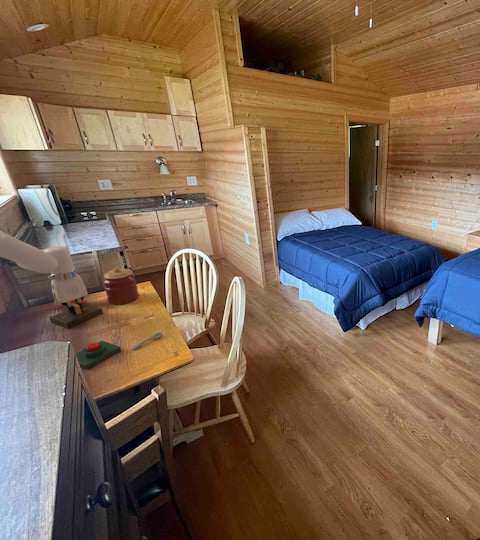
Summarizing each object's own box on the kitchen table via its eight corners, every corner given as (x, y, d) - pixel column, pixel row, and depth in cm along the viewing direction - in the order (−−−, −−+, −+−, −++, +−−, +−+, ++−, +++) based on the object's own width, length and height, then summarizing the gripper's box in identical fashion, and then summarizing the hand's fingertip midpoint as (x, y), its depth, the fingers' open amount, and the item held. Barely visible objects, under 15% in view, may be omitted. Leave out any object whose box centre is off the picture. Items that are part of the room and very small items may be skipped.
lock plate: (68, 328, 129) (66, 322, 128) (51, 323, 132) (48, 316, 131) (103, 313, 142) (101, 308, 140) (86, 308, 144) (84, 303, 143)
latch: (81, 313, 135) (79, 305, 134) (77, 314, 134) (74, 306, 132) (74, 310, 137) (72, 302, 136) (70, 311, 136) (67, 303, 134)
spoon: (164, 336, 129) (163, 332, 129) (135, 352, 120) (133, 348, 119) (160, 334, 131) (159, 330, 130) (130, 350, 121) (129, 346, 120)
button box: (87, 370, 108) (84, 361, 107) (68, 363, 111) (65, 354, 109) (121, 351, 119) (119, 342, 117) (103, 344, 121) (100, 336, 120)
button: (91, 353, 111) (90, 349, 111) (84, 350, 112) (83, 346, 112) (102, 347, 115) (100, 343, 114) (95, 345, 115) (94, 341, 115)
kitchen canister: (112, 294, 158) (104, 263, 152) (141, 292, 163) (135, 262, 157) (104, 306, 147) (95, 273, 141) (136, 303, 153) (128, 271, 146)
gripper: (45, 283, 121) (58, 322, 127) (90, 271, 134) (101, 306, 141) (35, 279, 123) (49, 317, 130) (81, 267, 137) (91, 302, 144)
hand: (76, 311), depth 135 cm, fingers closed on latch
